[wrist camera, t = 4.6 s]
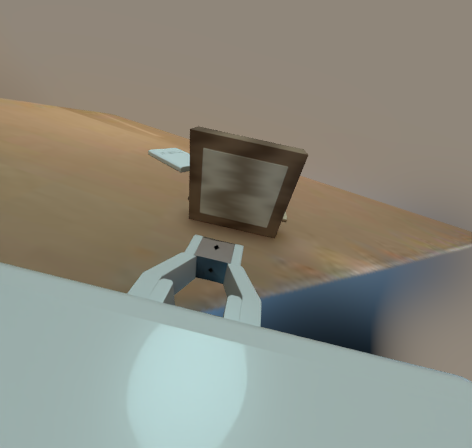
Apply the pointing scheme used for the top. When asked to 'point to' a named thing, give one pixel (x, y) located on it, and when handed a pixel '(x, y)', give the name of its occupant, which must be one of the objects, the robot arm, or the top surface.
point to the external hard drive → (172, 158)
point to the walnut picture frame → (241, 180)
